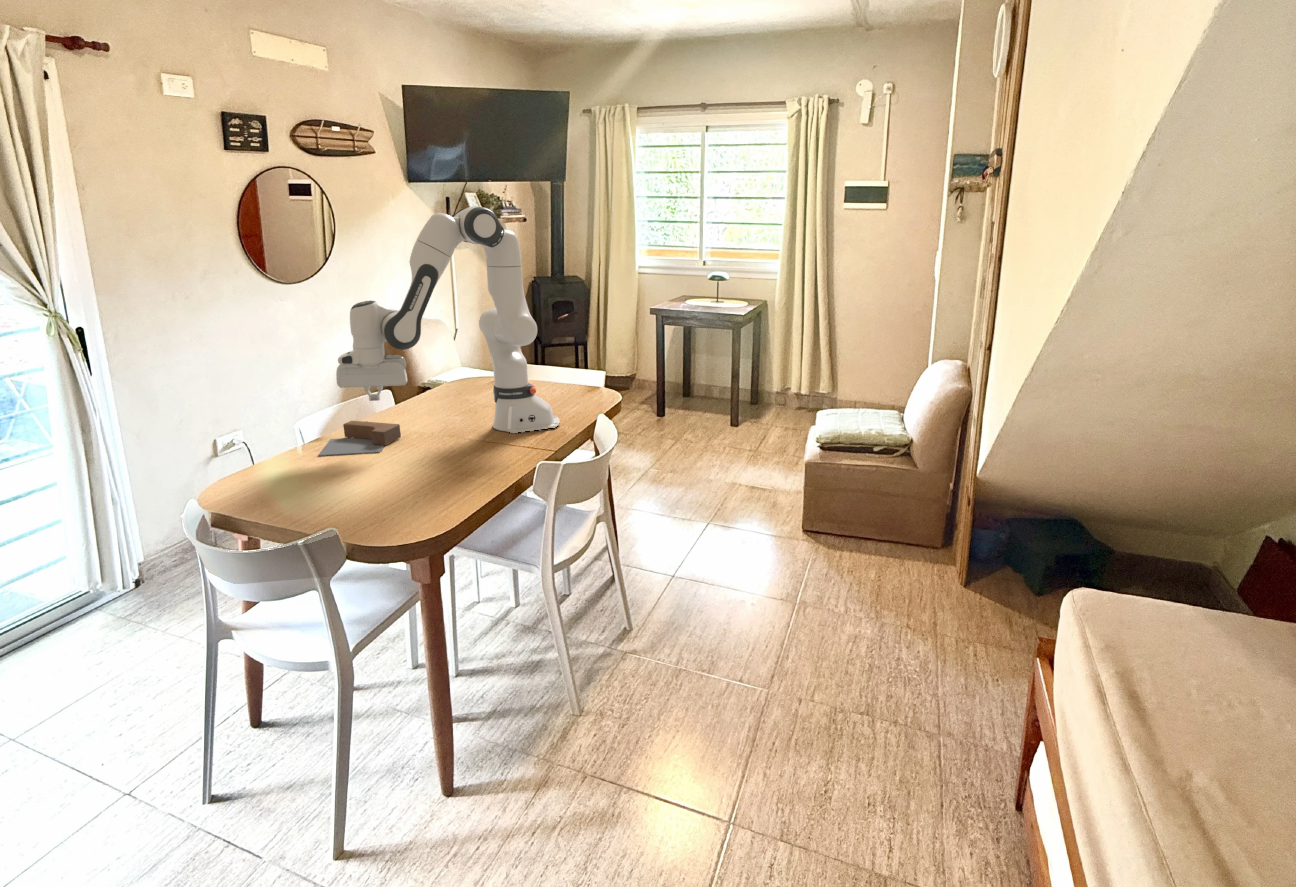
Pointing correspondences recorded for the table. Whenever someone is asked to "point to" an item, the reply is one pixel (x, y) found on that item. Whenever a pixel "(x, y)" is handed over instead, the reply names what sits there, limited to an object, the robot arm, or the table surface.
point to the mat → (350, 447)
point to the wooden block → (372, 431)
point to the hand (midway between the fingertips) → (374, 400)
